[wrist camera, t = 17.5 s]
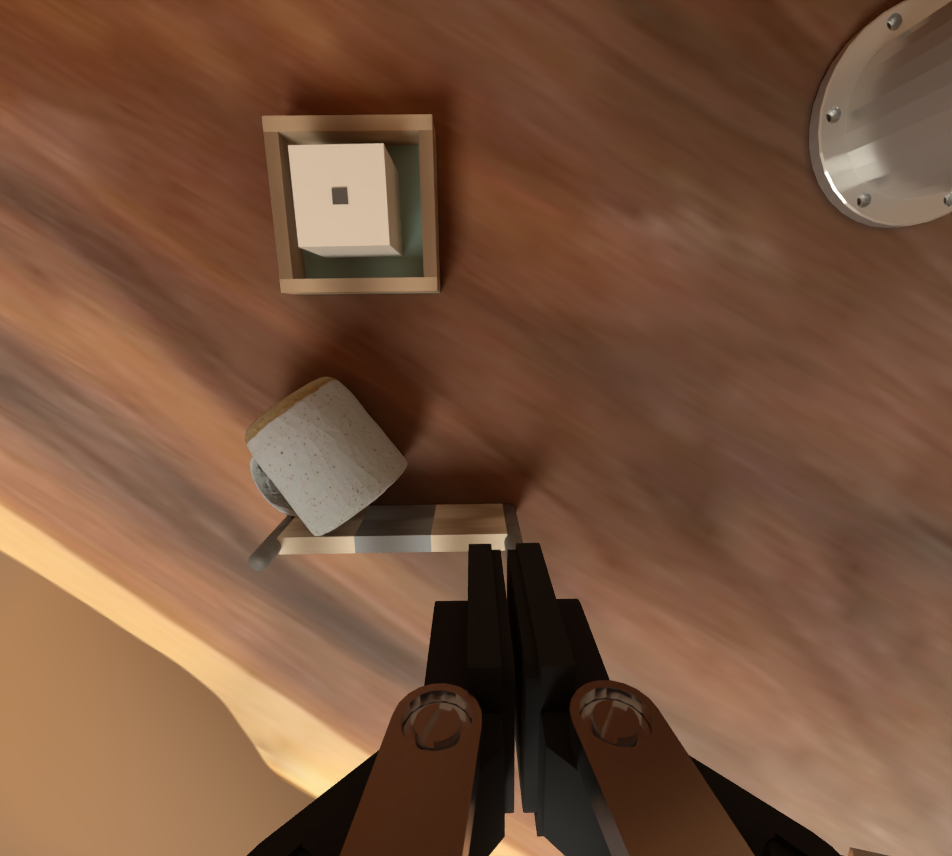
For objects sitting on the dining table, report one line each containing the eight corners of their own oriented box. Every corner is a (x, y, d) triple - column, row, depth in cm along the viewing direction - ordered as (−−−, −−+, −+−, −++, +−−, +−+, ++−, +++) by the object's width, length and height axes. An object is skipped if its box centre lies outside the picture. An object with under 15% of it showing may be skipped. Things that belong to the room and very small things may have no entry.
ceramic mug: (343, 361, 32) (303, 377, 25) (417, 450, 34) (399, 490, 27) (235, 448, 34) (167, 487, 27) (310, 530, 36) (265, 588, 28)
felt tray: (435, 134, 29) (431, 114, 26) (440, 292, 31) (437, 290, 28) (282, 135, 29) (261, 115, 26) (298, 294, 31) (281, 292, 28)
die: (398, 170, 29) (383, 141, 24) (402, 256, 30) (389, 244, 25) (317, 172, 29) (285, 143, 24) (325, 257, 30) (296, 246, 25)
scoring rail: (515, 503, 35) (526, 548, 28) (515, 518, 35) (525, 566, 29) (290, 506, 35) (247, 553, 28) (292, 521, 35) (249, 571, 28)
